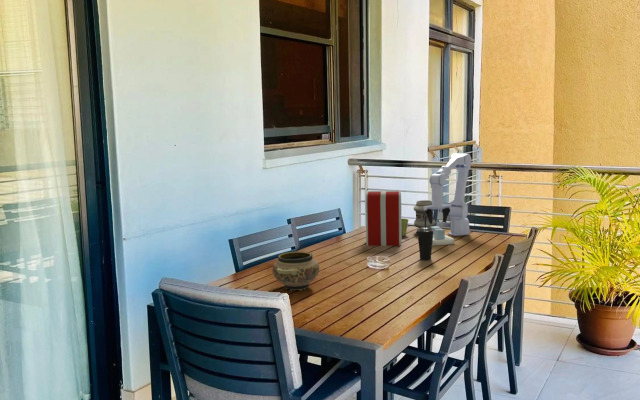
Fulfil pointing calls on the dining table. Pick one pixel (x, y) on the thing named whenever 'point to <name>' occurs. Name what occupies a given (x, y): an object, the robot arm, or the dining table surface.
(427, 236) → the drinking cup
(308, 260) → the ceramic bowl
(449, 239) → the tray
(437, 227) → the block
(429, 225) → the apothecary jar
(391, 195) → the red striped block
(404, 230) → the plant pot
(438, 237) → the block
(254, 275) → the dining table surface
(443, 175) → the robot arm
